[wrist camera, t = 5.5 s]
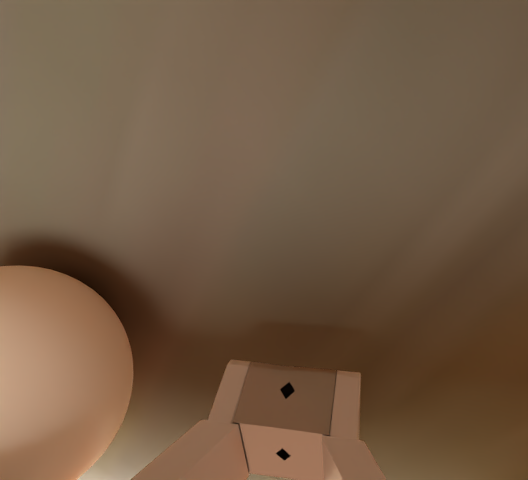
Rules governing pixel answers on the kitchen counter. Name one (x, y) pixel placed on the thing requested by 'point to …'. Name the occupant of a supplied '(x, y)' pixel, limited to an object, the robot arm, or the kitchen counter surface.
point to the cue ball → (58, 375)
